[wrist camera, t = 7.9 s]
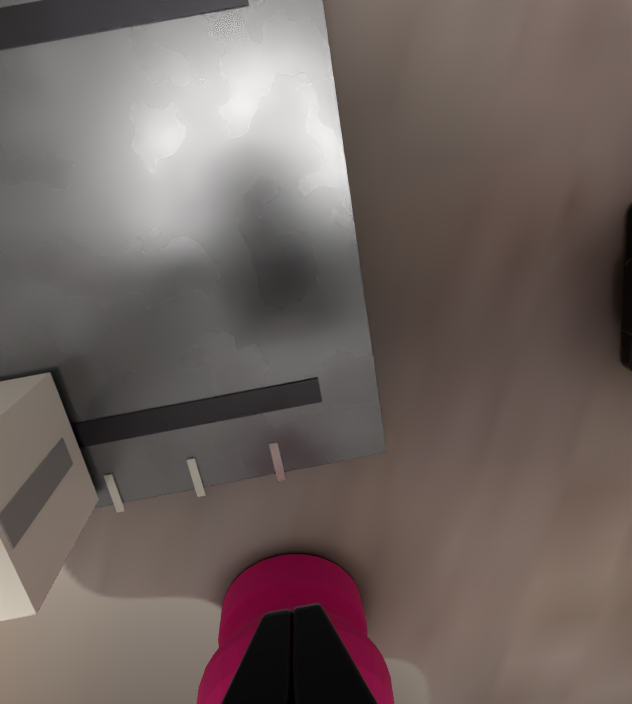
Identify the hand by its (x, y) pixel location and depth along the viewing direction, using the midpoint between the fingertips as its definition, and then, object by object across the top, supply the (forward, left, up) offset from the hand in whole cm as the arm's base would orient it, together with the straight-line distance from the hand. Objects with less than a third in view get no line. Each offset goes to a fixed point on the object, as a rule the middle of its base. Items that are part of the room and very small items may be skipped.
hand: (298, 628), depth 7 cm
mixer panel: (+5, -6, -12) cm, 14 cm away
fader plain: (+9, +1, -10) cm, 14 cm away
